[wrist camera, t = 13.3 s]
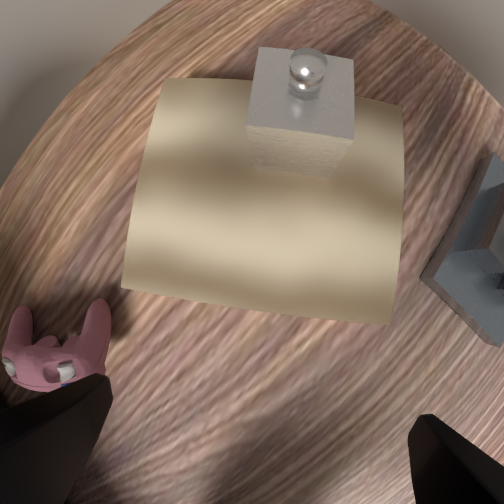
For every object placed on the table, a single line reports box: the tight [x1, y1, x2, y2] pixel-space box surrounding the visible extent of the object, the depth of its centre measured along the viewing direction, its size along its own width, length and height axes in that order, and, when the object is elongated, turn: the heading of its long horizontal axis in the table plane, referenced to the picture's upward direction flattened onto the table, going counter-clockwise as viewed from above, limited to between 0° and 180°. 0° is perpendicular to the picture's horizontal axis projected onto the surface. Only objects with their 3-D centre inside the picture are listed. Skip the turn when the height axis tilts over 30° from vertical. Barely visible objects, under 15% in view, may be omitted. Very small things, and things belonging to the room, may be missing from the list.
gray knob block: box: [246, 47, 354, 178], centre depth 14 cm, size 4×4×8 cm
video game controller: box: [2, 298, 111, 392], centre depth 18 cm, size 10×5×7 cm, turn 98°
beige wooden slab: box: [121, 78, 404, 325], centre depth 19 cm, size 14×16×3 cm
